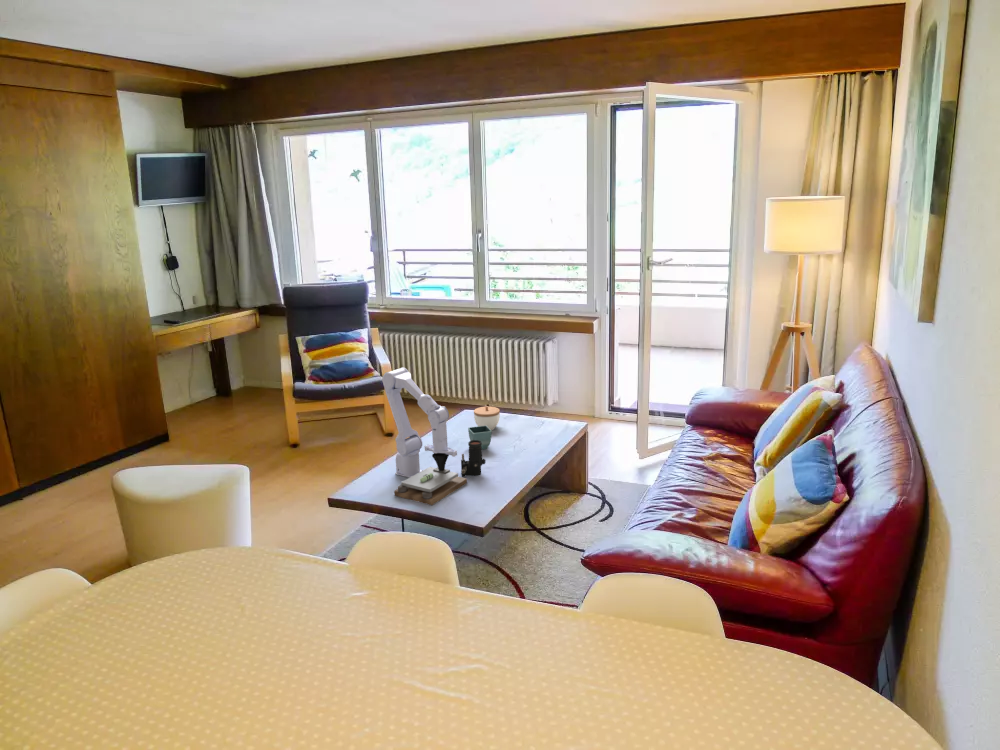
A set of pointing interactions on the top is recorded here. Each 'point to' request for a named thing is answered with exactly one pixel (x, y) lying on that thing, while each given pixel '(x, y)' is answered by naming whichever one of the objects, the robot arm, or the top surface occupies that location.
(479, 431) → the flower pot
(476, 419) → the lidded bowl
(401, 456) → the robot arm
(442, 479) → the level plate
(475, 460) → the scope
